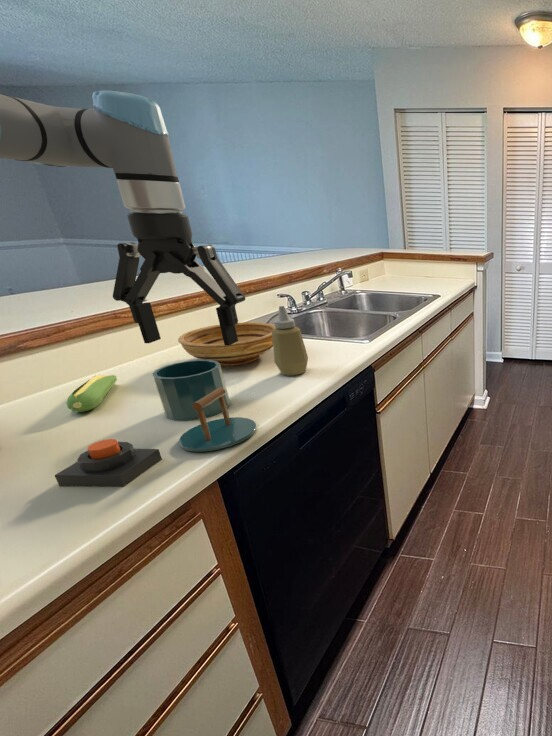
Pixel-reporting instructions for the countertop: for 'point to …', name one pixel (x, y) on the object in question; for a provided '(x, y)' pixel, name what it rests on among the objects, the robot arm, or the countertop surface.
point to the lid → (216, 427)
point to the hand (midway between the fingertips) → (192, 342)
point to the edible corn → (90, 393)
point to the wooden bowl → (245, 350)
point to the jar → (189, 388)
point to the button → (103, 448)
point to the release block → (109, 468)
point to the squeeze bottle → (288, 346)
